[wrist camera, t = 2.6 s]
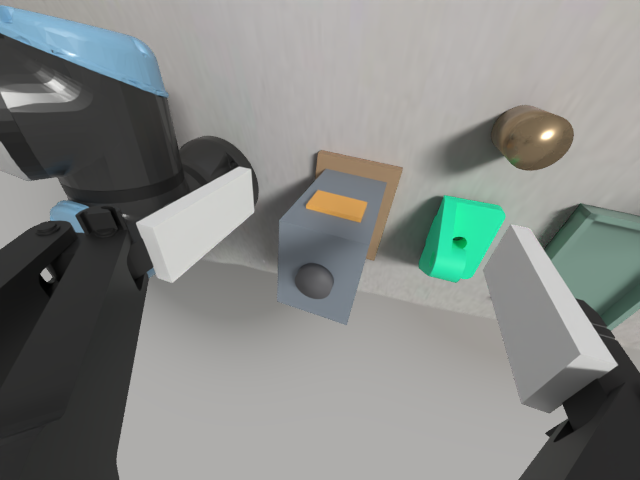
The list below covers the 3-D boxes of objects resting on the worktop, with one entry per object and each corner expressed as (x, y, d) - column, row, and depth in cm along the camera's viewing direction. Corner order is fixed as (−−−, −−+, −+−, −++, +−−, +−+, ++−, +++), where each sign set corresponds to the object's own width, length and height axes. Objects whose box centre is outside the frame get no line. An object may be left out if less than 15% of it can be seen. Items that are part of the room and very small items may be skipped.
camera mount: (467, 269, 42) (479, 319, 33) (418, 258, 43) (418, 302, 35) (503, 203, 35) (528, 245, 26) (443, 192, 36) (450, 228, 28)
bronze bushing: (483, 147, 32) (496, 164, 26) (504, 101, 29) (524, 110, 23) (527, 155, 31) (551, 175, 25) (554, 109, 28) (588, 120, 22)
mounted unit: (311, 237, 48) (262, 314, 33) (321, 150, 38) (258, 203, 23) (375, 255, 45) (353, 347, 31) (402, 167, 36) (390, 239, 21)
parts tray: (507, 294, 41) (512, 306, 39) (580, 203, 32) (591, 212, 30) (597, 320, 39) (606, 333, 37) (706, 230, 29) (726, 242, 27)
